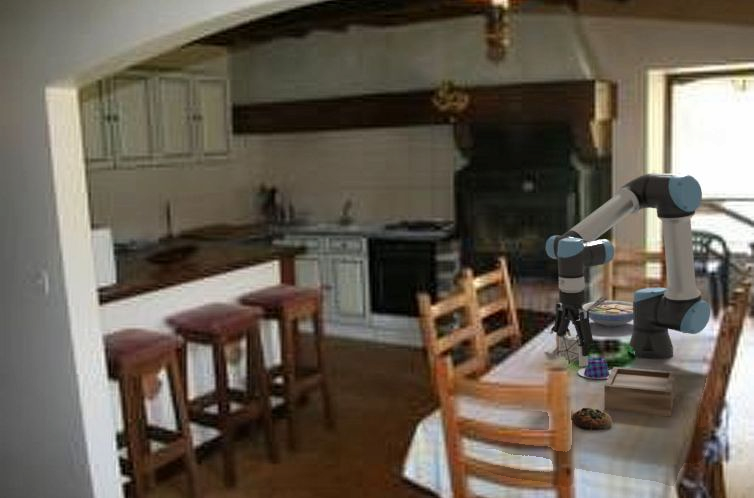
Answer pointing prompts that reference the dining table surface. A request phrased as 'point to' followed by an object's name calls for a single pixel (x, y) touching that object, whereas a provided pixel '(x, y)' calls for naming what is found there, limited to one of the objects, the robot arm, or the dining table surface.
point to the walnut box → (640, 391)
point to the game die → (570, 349)
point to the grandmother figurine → (557, 336)
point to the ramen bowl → (609, 312)
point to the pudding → (595, 369)
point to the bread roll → (591, 419)
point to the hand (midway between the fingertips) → (573, 360)
